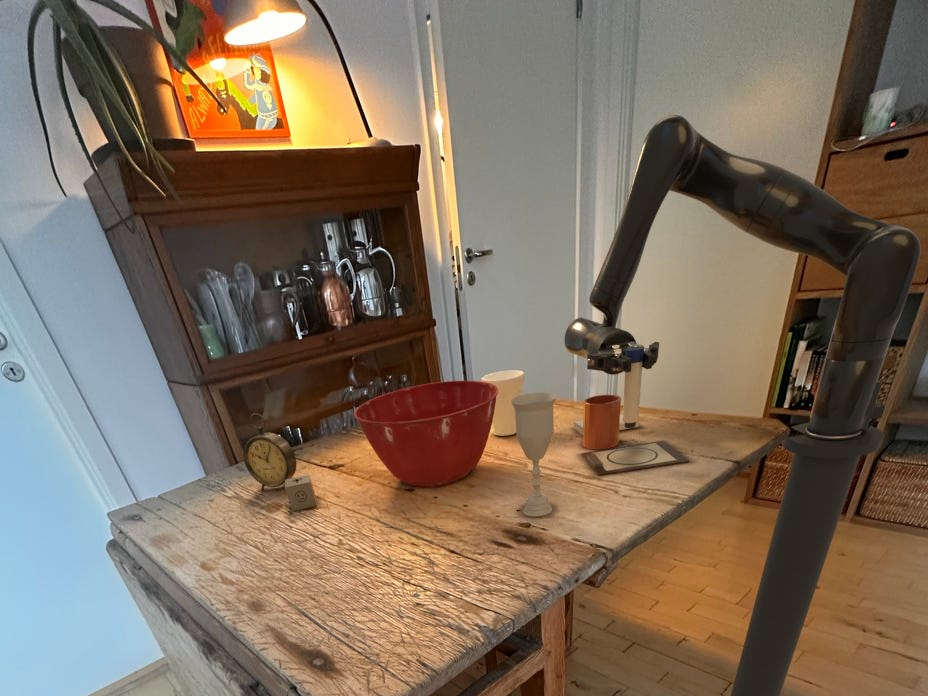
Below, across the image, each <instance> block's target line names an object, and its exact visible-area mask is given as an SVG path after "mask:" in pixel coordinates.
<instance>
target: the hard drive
mask: <svg viewBox="0 0 928 696" xmlns="http://www.w3.org/2000/svg"><path fill="white" fill-rule="evenodd" d="M624 426H625V423H624V422H623V413H620V430H619V431H625V430H629V429H630V428H625V427H624ZM639 427H640V421H639V420H638V421H637V422H636V426H635V427H633V428H632V429H634V428H639ZM573 429H574V430H575V431H577V433H579V434H580V435H582V436H583V420H578V421H574V422H573Z"/></svg>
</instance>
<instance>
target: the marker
mask: <svg viewBox="0 0 928 696" xmlns="http://www.w3.org/2000/svg"><path fill="white" fill-rule="evenodd" d="M644 348H645V346H644V347H632V348H628V349H626V354H625V355H626V356H628V357H630V358H631V372H628V373H625V372H624V386H623V402H622V403H623V404H622V405H623V406H622V414H623V422H624V423H625V426H624V427H625V428H629V429H634V428H633V427H635V426H636V422H637V421H639V416H640V403H641V401H640V400H641V390H642V389H641V388H642V376H643V375H642V374H643V367H642V362H643V356H644ZM635 428H636V427H635Z"/></svg>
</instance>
